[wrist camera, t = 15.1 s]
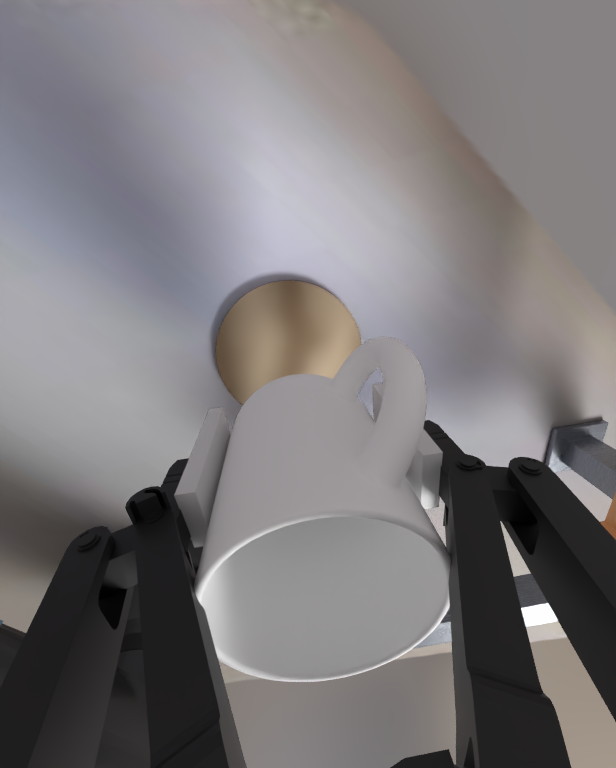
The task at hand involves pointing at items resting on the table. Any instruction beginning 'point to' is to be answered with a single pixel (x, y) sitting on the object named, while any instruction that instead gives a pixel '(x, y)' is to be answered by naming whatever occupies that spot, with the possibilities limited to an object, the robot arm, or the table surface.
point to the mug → (324, 527)
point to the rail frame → (565, 452)
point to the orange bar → (611, 519)
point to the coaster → (283, 336)
